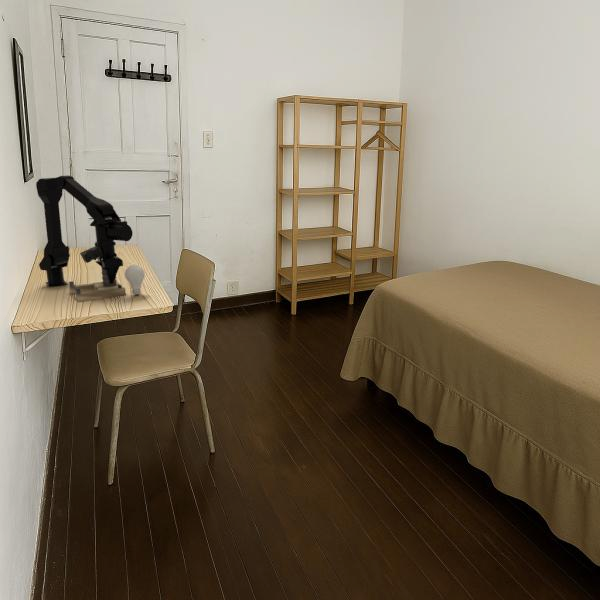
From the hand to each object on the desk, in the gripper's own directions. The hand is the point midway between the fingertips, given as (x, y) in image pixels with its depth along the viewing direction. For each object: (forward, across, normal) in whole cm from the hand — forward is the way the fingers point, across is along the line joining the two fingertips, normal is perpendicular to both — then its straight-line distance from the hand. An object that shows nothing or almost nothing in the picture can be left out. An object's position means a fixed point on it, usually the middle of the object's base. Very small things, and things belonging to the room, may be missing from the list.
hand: (109, 282), depth 190 cm
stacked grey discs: (+1, 0, 0) cm, 1 cm away
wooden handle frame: (+4, 0, -4) cm, 6 cm away
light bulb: (+4, +10, +6) cm, 13 cm away
